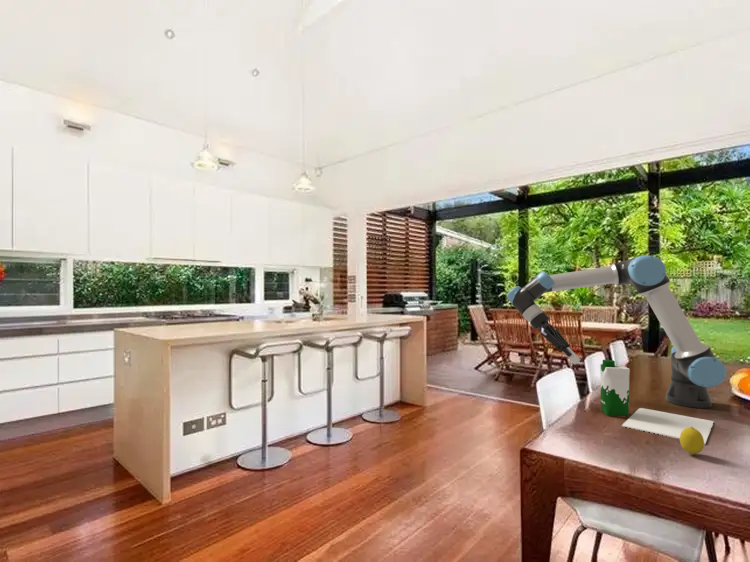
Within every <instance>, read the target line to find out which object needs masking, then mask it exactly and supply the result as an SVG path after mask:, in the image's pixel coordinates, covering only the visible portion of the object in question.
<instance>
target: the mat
mask: <svg viewBox="0 0 750 562" xmlns="http://www.w3.org/2000/svg"><path fill="white" fill-rule="evenodd" d="M713 423H715V422H714V420H708V419H702V418H699V417H693V416H688V415H682V414H676V413H671V412H670V413H669V412H667V411H659V410H654V409H649V408H645V407H639V408H638V409H636V411H635V412H634V413H633V414H632V415H631V416H629V417H628V419H627V420H625V421H624V422H623V423H622V425H621V428H625V427H627V428H626V429H629V428H631V429H630V430H634V429H635V431H639V430H640V431H639V432H643V431H645V432H644V433H648V432H650V433H649V434H653V433H655V434H654V435H657V434H659V435H658V436H662V435H663V436H662V437H666V436H667V438H672V439H676V440H680V435H681V432H682V431H683V430H684V429H686V428H690V427H693V428H694V429H696V430H698V431H699V432H700V433H701V434H702V436H703V439H704V446H705V445H706V443H707V441H708V438H709V436H710V433H711V431H712V429H711V428H713V426H714V424H713Z"/></svg>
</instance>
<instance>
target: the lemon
mask: <svg viewBox="0 0 750 562" xmlns="http://www.w3.org/2000/svg"><path fill="white" fill-rule="evenodd" d="M679 443H680V446H681V447H682V448H683V449H684V451H686V453H687V452H688V454H689V455H692V456H693V455H695V454H700V452H702V451H703V449H704V447H705V445H704V439H703V436H702V434H701V433H700V432H699V431H698V430H696V429H694V428H693V427H690V428H686V429H684V430H683V431H682V432H681V435H680V439H679Z"/></svg>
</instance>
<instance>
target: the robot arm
mask: <svg viewBox="0 0 750 562" xmlns="http://www.w3.org/2000/svg"><path fill="white" fill-rule="evenodd" d="M670 283H671V280H670V279H669V276H668V275H667V270H666V266H665V264H664V262H663V261H662V260H661V259H659V258H658V257H657V256H653V255H647V254H646V255H645V254H644V255H638V256H636V257H635V256H634V257H632V258H630V259H627V260H623V261H620V262H619V261H618V262H614V263H612V264H611V265H610V266H609V265H608V266H603V267H596V268H595V267H594V268H589V269H582V270H576V271H570V272H563V273H556V274H550V275H549V274H548V273H547V272H546V271H544V270H543V271H541V272H540V273H538V274H537V275H536V276H534V277H533V278H531V280H530V281H528V283H527V284H526V285H524V286H523V287H521V286H519V285H516V286H514V288H511V289H510V290H509V291H508V293H507V295H506V299H507V300H508V301H509V302H510V303H511V305H512V306H513V307H514V309H516V310H517V311H518V313H520V315H522V317H523V319H524V320H526V321H527V322H528V323H529V324H530V325H531V327H532V328H533V329H534V330H535V331H536V330H540V333H539V334H540V335H541V336H542V337H543V338H545V339H546V340H547V341H548V342H549V343H550V344H552V345H553V346H554V348H556V349H557V350H558V352H559V353H563V354H564V355H565V356H566V357H567V358H568V360H569V361H571V362H572V364H573V365H577V364H578V363H579V362H580V361H581V358H580V357H579V356H578V355H577V354H576V353H575V352H574V351H573V350H572V348H571V344H569V342H568V341H567V340H566V339H565V338H564V336H563V335H562V334H561V332H560V331H559V329H558V328H557V327H556V326H555V327H554V325H552V324H550V323H549V321H550V317H549V316H548V315H547V314H546V313H545V312H544V311H543V309H541V308H540V306H539V305H538V304H537V303H536V302H535V301H536V300H537V299H539V298H540V297H541V296H542V295H544V294H545V293H552V292H559V291H566V290H572V289H573V290H574V289H580V288H581V289H583V288H589V287H596V286H602V285H603V286H604V285H611V284H614V285H616V286H620V285H633V287H634V289H635V290H636V292H637V294H638V295H640V296H644V297H645V299H646V300H647V303H648V304H649V306H650V308H651V309H652V311H653V313H654V315H655V316H656V318H657V321H659V323H660V325H661V327H662V328H663V330H664V332H665V334H666V336H667V337H668V339H669V341H670V342H671V344H672V348H671V351H670V352H671V353H670V384H669V386H668V389H667V391H666V393H665V400H666V402H668V403H671V404H675V405H677V406H682V407H689V408H696V409H707V408H712V406H713V405H712V404H713V403H712V402H713V400H712V398H711V395H710V392H709V389H708V388H713V387H717V386H718V385H720V384H721V383H723V382H724V380H725V379H726V376H727V370H726V369H727V368H726V366H725V365H724V363H723V362H722V361H721V360H720V359H719V358H717V357H716V356H715V354H714V353H713V351H712V349H711V348H710V346H709V345H708V344H705V343H702V342H701V339H699V336H698V335H697V333H696V332H695V330H694V328H693V327H692V325H691V323H690V322H689V319H688V318H687V316H686V315H685V313H684V312H683V310H682V308H681V306H680V304H679V303H678V301H677V300H676V297H675V296H674V294H673V293H672V291H671V289H670V288H669V287H670Z"/></svg>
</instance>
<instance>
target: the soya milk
mask: <svg viewBox="0 0 750 562" xmlns="http://www.w3.org/2000/svg"><path fill="white" fill-rule="evenodd" d="M599 367H600V411H601V410H602V411H603V412H602V411H601V412H602V413H603V414H604V415H606V417H614V416H625V417H624V418H629V411H630V410H629V409H630V372H631V370H630V368H628V367H627V366H625V365H623V364H616V362H615V360H613V359H602V363H600V364H599Z"/></svg>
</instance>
